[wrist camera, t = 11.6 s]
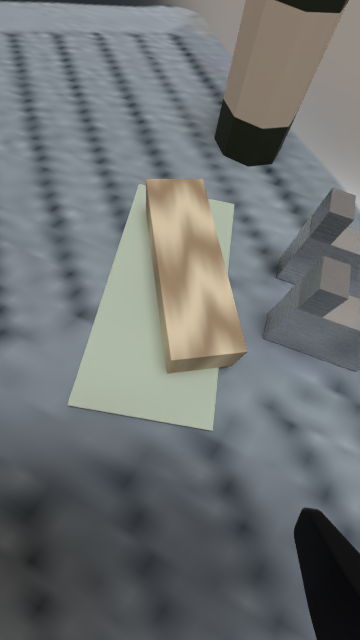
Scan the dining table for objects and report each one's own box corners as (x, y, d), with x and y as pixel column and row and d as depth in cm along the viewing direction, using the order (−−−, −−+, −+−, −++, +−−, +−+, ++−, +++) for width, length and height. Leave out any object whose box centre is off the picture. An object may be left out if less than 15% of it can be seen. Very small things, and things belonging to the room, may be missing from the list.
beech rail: (167, 373, 20) (231, 365, 21) (171, 360, 17) (247, 351, 17) (145, 211, 26) (196, 210, 27) (145, 178, 23) (202, 179, 24)
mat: (210, 430, 19) (212, 430, 19) (69, 405, 19) (67, 404, 18) (232, 208, 28) (234, 204, 28) (139, 188, 28) (139, 184, 28)
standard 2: (355, 371, 22) (456, 336, 15) (263, 338, 22) (318, 288, 15) (356, 344, 23) (451, 300, 16) (268, 313, 24) (323, 255, 16)
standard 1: (358, 306, 25) (445, 250, 18) (276, 277, 25) (328, 211, 18) (359, 285, 26) (441, 224, 19) (280, 257, 26) (332, 187, 19)
